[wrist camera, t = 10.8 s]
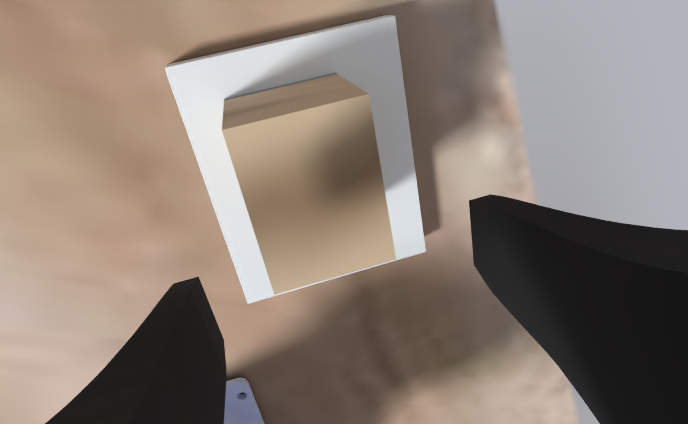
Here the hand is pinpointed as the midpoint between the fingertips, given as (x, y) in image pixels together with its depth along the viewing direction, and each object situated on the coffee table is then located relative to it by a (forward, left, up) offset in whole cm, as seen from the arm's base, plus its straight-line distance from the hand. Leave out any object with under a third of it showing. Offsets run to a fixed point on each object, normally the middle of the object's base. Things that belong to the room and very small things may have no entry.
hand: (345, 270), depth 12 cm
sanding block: (0, 0, -9) cm, 9 cm away
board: (-1, 0, -10) cm, 10 cm away
